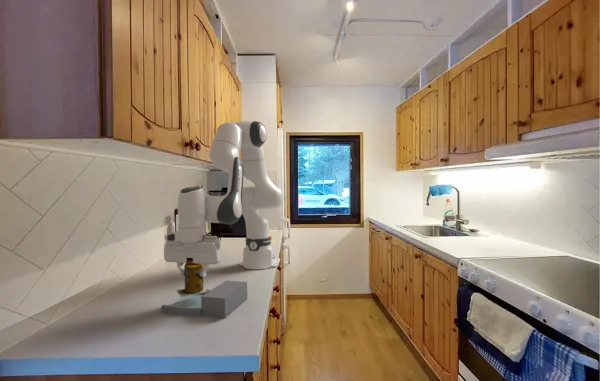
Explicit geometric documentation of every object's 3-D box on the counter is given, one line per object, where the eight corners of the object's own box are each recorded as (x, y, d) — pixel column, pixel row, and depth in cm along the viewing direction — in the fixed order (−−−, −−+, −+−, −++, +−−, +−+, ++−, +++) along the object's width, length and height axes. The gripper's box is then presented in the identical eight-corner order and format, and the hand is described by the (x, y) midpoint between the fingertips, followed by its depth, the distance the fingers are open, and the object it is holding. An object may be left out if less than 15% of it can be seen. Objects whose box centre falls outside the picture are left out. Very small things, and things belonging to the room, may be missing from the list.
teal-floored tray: (192, 293, 116) (192, 277, 116) (247, 298, 110) (247, 281, 110) (161, 312, 99) (161, 293, 99) (224, 318, 94) (223, 299, 94)
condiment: (207, 292, 105) (206, 256, 105) (181, 297, 101) (180, 260, 100) (200, 286, 111) (200, 252, 111) (175, 291, 107) (175, 255, 106)
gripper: (224, 234, 106) (225, 275, 106) (172, 232, 111) (173, 271, 111) (215, 237, 100) (216, 280, 100) (160, 235, 105) (161, 276, 105)
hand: (193, 275), depth 106 cm, fingers closed on condiment, 6 cm apart
